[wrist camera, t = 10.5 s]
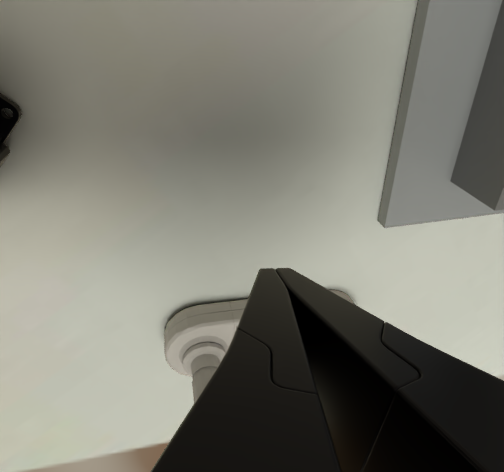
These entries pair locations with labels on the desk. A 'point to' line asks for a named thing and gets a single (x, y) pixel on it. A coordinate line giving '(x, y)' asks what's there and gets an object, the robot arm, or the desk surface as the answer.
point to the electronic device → (204, 338)
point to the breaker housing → (449, 117)
